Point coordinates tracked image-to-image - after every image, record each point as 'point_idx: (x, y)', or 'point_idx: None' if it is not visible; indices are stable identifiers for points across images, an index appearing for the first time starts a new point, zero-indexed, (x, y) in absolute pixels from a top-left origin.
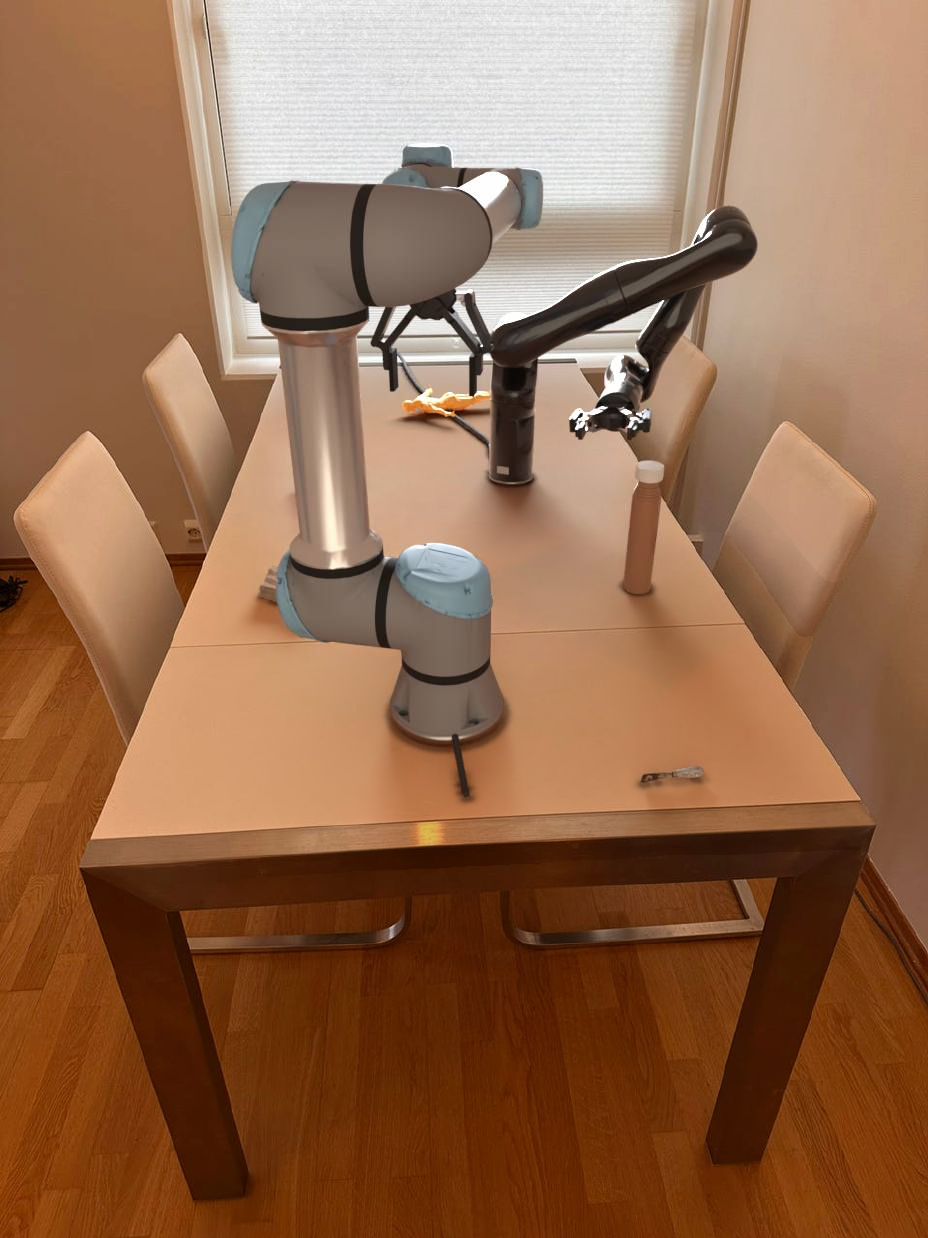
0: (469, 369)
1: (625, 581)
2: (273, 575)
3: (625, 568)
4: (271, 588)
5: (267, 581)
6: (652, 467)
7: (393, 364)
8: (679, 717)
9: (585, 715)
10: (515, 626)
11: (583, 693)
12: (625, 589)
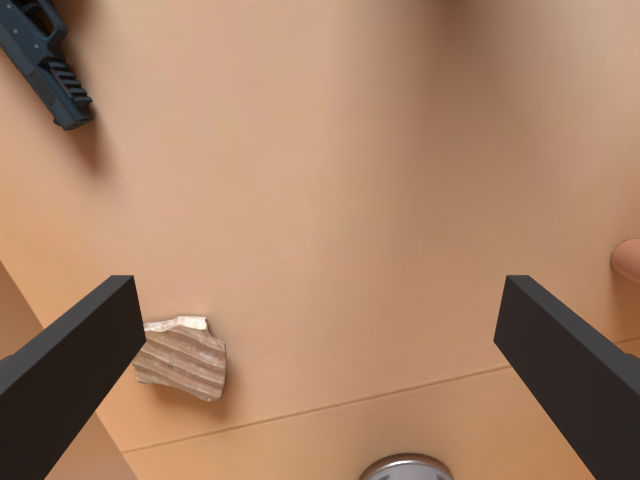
0: (575, 450)
1: (621, 271)
2: (138, 356)
3: (636, 276)
4: (155, 382)
5: (140, 370)
6: None
7: (63, 437)
8: None
9: (526, 472)
10: (460, 366)
11: (527, 449)
12: (612, 267)
